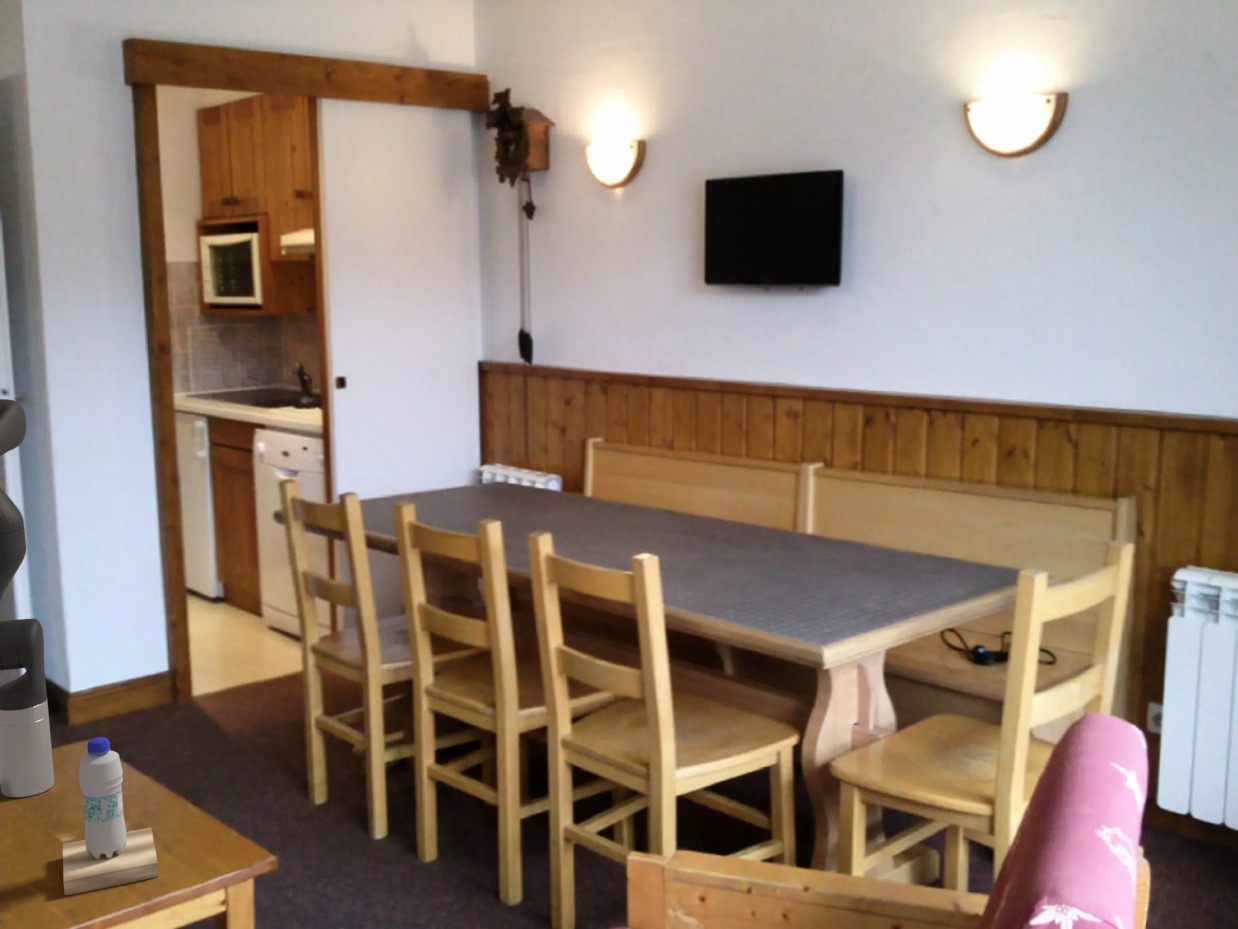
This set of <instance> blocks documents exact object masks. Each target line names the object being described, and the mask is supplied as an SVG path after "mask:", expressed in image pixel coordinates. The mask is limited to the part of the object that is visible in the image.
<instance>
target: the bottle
mask: <svg viewBox="0 0 1238 929" xmlns="http://www.w3.org/2000/svg"><path fill="white" fill-rule="evenodd" d="M86 748H87V754H85V755H84V756H82V758H81V759H80V760H79V772H78V782H79V789H80V790H81V792H82V803H83V813H84V814H83V815H84V840H85V844H86V850H87V852H88V854H89V855H90V856H92V857H94V858H95V859H100V858H101V854H105V855H106V857H107V858H111V857H112V854H113V852H114V851H115V853H116V854H117V855H119V854H120V853H121V852H122V851H123V849H124V847H125V845H126V841H127V836H126V832H127V829H126V822H125V815H124V801H123V791H122V790H123V787H122V783H123V781H124V778H123V773H124V771H123V768H122V767H123V766H122V763H121V759H120V754H119V753H118V752H116V751H114V750H111V743H110V740H109V739H108V738H107V737H104V736H99V737H94V738H92V739H89V741H88V742H87V747H86Z"/></svg>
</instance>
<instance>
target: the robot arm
mask: <svg viewBox="0 0 1238 929" xmlns="http://www.w3.org/2000/svg"><path fill="white" fill-rule="evenodd" d="M25 412H26V411H25V410H24V408H23V406H22V405H21V403H19V402H18V401H16V400H14V399H6V398H3V399H2V398H0V457H1V456H3V455H5V454H7V453H8V452H11V451H12V450H14V449H16V448H18V447H19V446H20V445H21V444H22V443H23V441H24V440H25V437H26V433H27V417H26V413H25ZM26 540H27V539H26V531H25V521H24V518H23V514H22V512H21V511H20V509H19V508H18V506H17V505H16V504H15V503H14V501H13V500H12V499H11V498H10V496H8V494H7V493H6V492H5V491H4V489H3V488H2V487H1V486H0V602H1V600H2V598H3V596H4V594H5V592H6V590H7V588H8V587H9V584H10V583H11V581H12V580H13V578H14V577H15V576H16V574H17V572H18V570H19V568H20V566H21V565H22V563H23V561H24V560H25V559H24V558H25V557H26V554H27V542H26ZM44 638H45V637H44V630H43V627H42V624H41V622H40V621H39V620H38V619H37V618H21V619H20V618H19V619H11V620H10V619H9V620H0V671H9V670H18V669H25V672H24V673H23V674H22V675H20V676H19V677H16V679H14V680H12V681H9V682H7V683H4V684H2V685H1V686H0V792H1V795H3V796H5V797H6V798H7V797H8V798H25V797H31V796H35V795H39V794H42V793H44V792H46V791H49V790H50V789H52V788H53V786H54V785H55V776H54V773H55V772H54V761H53V751H52V739H51V738H52V737H51V726H50V716H49V706H48V693H47V685H46V683H47V682H46V672H45V671H46V669H45V640H44Z"/></svg>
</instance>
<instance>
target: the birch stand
mask: <svg viewBox="0 0 1238 929" xmlns="http://www.w3.org/2000/svg"><path fill="white" fill-rule="evenodd" d="M126 836H127V841H126V845H125V847H124V849H123V851H122V852H121V853H120V854H119V855H117V854H116V853H115V851H114V852H113V854H112V857H111V858H107V857H106V855H105V854H101V858H100V859H95V858H94V857H92V856H90V855H89V854H88V852H87V850H86V844H85V839H80V840H78V841H77V840H75V841H71V842H66V843H62V870H63V871H62V872H63V874H62V876H63V892H64V896H65V895H67V896H70V895H76V894H80V893H85V892H91V891H95V890H100V889H105V888H110V887H114V886H120V885H121V886H122V885H125V884H130V883H135V882H139V881H144V880H149V879H155V878H159V876H160V874H159V862H158V856H157V850H156V846H155V841H154V840H155V839H154V833H153V830H152V827H146V828H141V829H136V830H129V831H126Z"/></svg>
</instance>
